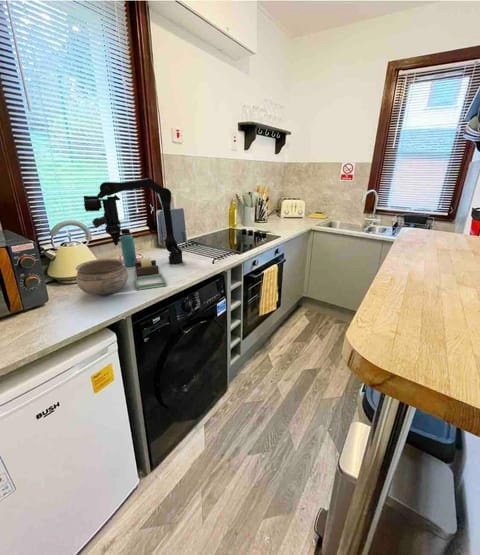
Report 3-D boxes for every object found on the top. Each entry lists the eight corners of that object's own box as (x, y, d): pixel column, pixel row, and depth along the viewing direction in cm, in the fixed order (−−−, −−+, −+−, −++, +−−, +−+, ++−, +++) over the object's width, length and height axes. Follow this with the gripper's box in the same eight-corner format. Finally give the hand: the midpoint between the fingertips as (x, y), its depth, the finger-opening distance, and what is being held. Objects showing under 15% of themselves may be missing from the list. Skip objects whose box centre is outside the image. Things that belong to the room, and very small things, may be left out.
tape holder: (135, 270, 139) (134, 261, 137) (156, 268, 142) (155, 258, 141) (137, 280, 127) (136, 270, 125) (159, 277, 130) (158, 267, 129)
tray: (162, 277, 130) (161, 273, 129) (166, 286, 120) (165, 282, 119) (135, 281, 125) (134, 277, 124) (136, 290, 116) (136, 286, 115)
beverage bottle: (133, 269, 141) (127, 230, 133) (121, 268, 142) (115, 230, 134) (140, 265, 146) (134, 228, 139) (128, 264, 148) (123, 227, 140)
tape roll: (141, 270, 136) (139, 256, 134) (151, 269, 138) (149, 255, 136) (142, 274, 130) (140, 260, 128) (152, 273, 132) (151, 259, 130)
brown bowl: (66, 294, 112) (59, 266, 108) (108, 279, 127) (103, 254, 123) (103, 309, 100) (97, 278, 96) (144, 291, 115) (141, 264, 111)
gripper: (92, 208, 132) (99, 240, 138) (89, 214, 116) (96, 249, 122) (117, 207, 136) (122, 238, 142) (117, 212, 120) (123, 247, 126)
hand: (116, 243), depth 133 cm, fingers open, 9 cm apart
